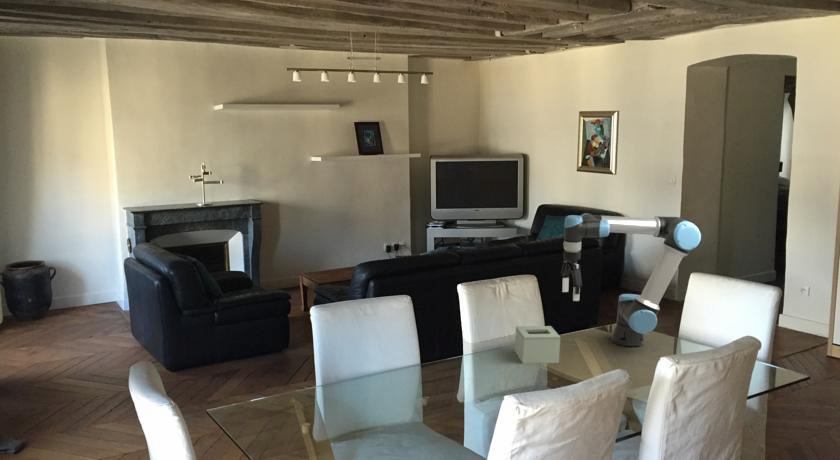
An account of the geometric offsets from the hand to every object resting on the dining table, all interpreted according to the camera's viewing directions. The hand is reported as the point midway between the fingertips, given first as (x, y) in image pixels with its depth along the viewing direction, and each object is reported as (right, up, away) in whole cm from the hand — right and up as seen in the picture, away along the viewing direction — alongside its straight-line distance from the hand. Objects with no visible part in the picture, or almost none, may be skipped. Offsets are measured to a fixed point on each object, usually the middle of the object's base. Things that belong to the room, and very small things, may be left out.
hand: (570, 296), depth 324 cm
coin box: (-16, -27, -4) cm, 32 cm away
